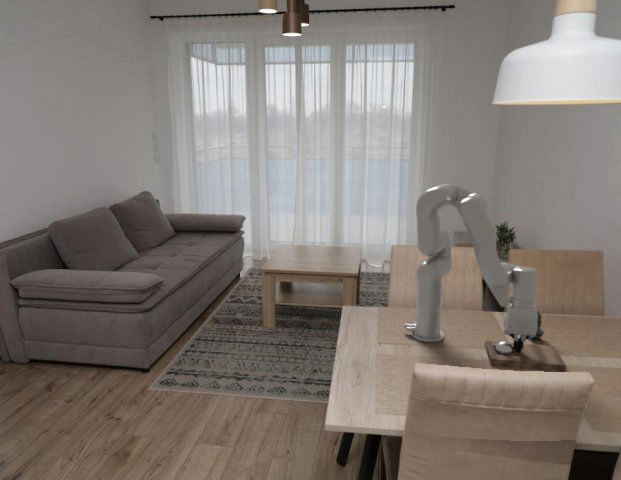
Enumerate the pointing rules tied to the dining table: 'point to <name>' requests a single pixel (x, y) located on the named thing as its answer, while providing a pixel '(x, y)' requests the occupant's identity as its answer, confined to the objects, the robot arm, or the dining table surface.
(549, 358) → the board
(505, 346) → the ball
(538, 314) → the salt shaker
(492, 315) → the dining table surface
